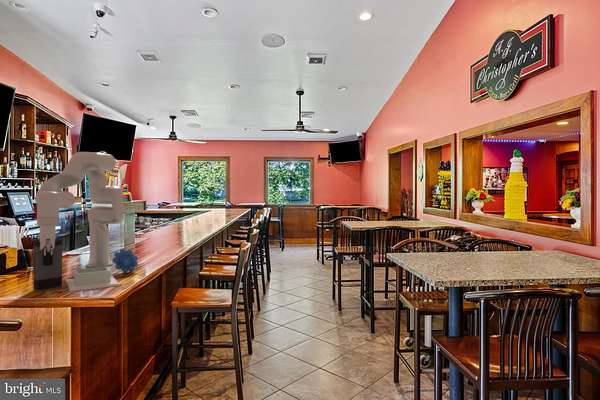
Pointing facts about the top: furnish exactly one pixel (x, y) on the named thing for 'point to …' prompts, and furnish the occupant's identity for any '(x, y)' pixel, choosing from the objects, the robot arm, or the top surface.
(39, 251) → the electronic device
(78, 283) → the dock
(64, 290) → the top surface
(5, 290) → the top surface
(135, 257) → the grapes
